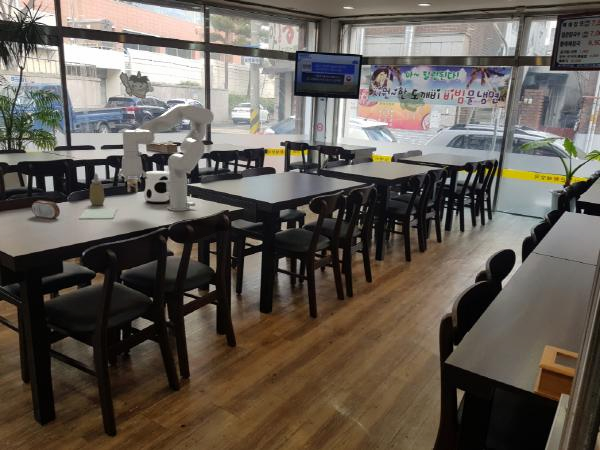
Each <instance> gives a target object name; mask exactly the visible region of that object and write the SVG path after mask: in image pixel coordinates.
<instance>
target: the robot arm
mask: <svg viewBox="0 0 600 450" xmlns="http://www.w3.org/2000/svg"><path fill="white" fill-rule="evenodd" d="M185 120H186V121H190V123H191V127H190V129H189V132H188V133H187V135H186V136H185V137H184V139H183V140H182V142H181V143H180V147H179V148H180V152H181V153H182V154H181V153H172V154H171V155H170V156H169V157H168V160H167V167H168V172H169V175H170V202H169V205H168V206H166V209H167V210H168V209H169V211H172V212H184V211H188V210H190V208H191V207H196V202H190V201H189V202H188V176H187V173H190V172H191V171H193V170H194V169H195V168H196V166H197V165H198V164H199V162H200V160H201V158H202V157H203V156H204V153H205V151H206V148H205V147H206V146H205V144H204V142H203V140H204V137H206V125H210V124H211V123H213V121H214V113H213V112H212V110H210V109H208V108H204V107H200V106H196V105H193V104H188V103H178V104H176V105H175V106H172V107H171V108H170V109H168V110H167V111H165V112H164V113H163V114H161V115H159V116H157V117H155V118H152V119H151V120H148V121H146V122H144V123H143V124H141V125H139V127H137V128H136V129H133V130H131V129H129V130H128V129H127V130H126V129H125V130H123V132H122V147H123V156H122V159H121V170H120V171H119V172H118V174H117V177H119V178H120V179H121V180H123V181H124V187H125V188H126V190H128V186H127V179H128V178H129V177H136V178H138V190H140V188H142V187H141V181H142V180H143V179H145V177H146V176H147V174H146V172H145V170H144V169H143V163H142V157H141V156H142V155H143V154H142V153H143V152H141V151H140V150H139V149H140V147H139V146H140V145H146V146H147V145H151V144H152V143H154V141H155V138H156V136H155V134H157V133H161V132H162V133H163V132H166V131H169V130H171V129H173V128H174V127H176V126H177V125H178V124H180V123H182V121H185Z"/></svg>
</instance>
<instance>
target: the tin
mask: <svg viewBox="0 0 600 450" xmlns="http://www.w3.org/2000/svg"><path fill="white" fill-rule="evenodd" d="M31 212H32V214H33V215H34V216H36V217H37V218H43V219H48V220H53V219H57V218H58V217H59V216H60V214H61V210H60V207H59V206H58V204H57V203H55V202H54V201H48V200H37V201H34V202H32V204H31Z"/></svg>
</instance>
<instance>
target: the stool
mask: <svg viewBox="0 0 600 450" xmlns="http://www.w3.org/2000/svg"><path fill="white" fill-rule="evenodd" d="M131 185H135V192H136V193H138V192H139V189H138V178H137V177H131V178H130V177H128V178H127V186H128V189H127V192H128V193H131Z"/></svg>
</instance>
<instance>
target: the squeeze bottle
mask: <svg viewBox="0 0 600 450" xmlns="http://www.w3.org/2000/svg"><path fill="white" fill-rule="evenodd" d="M89 186H90V187H89V201H90V203H91V205H92V206H94V205H100V206H103V205H104V202H105V200H106V198H105V192H104V185H103V184H102V180H101V179H99V175H98V173H94V176H93V179H92V180H91V184H90V185H89Z"/></svg>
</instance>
